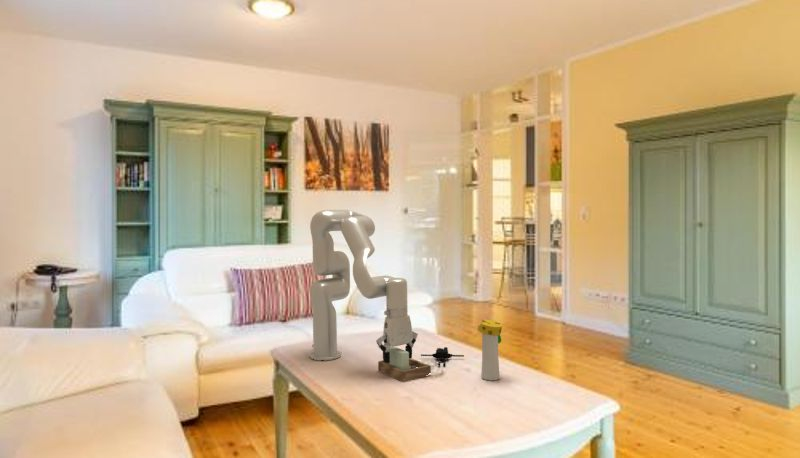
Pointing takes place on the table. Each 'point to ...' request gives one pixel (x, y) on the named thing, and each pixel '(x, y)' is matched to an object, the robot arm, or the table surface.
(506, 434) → the table surface
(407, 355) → the light green rectangular block
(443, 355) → the toy
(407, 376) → the brown wooden shallow tray
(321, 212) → the robot arm
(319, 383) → the table surface
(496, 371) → the toy
